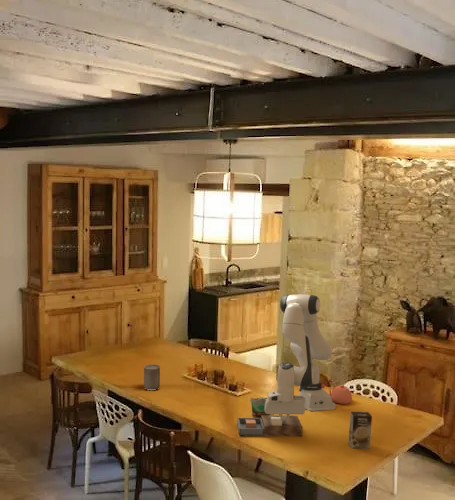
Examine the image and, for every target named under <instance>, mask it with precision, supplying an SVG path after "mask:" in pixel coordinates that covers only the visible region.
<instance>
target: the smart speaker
mask: <svg viewBox="0 0 455 500" xmlns="http://www.w3.org/2000/svg"><path fill="white" fill-rule="evenodd" d="M160 379H161V367H160V365H158V364H147V365H144V366H143V388H144V387H145V388H146V389H158V388H159V387H161V386H160V383H161V382H160V381H161V380H160ZM158 390H159V389H158Z"/></svg>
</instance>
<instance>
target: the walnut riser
mask: <svg viewBox="0 0 455 500" xmlns="http://www.w3.org/2000/svg"><path fill="white" fill-rule="evenodd" d="M286 416H287V415H282V418H286ZM271 417H280V416H279V415H272V414H269V415H261V419H262V422H263V425H264V429H265V432H264V436H263V437H303V424H302V423H301V420H300V418H299V416H298V415H290V417H289V418H288V419H287V423H282V426H279V425H272V424H271Z"/></svg>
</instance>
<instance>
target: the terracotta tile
mask: <svg viewBox="0 0 455 500" xmlns="http://www.w3.org/2000/svg"><path fill="white" fill-rule="evenodd" d="M245 425H246V428H256V421H255V420H245Z"/></svg>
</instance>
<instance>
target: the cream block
mask: <svg viewBox="0 0 455 500" xmlns="http://www.w3.org/2000/svg"><path fill="white" fill-rule="evenodd" d="M271 424H272V425H279V426H282V419H281V418H280V417H271Z"/></svg>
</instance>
